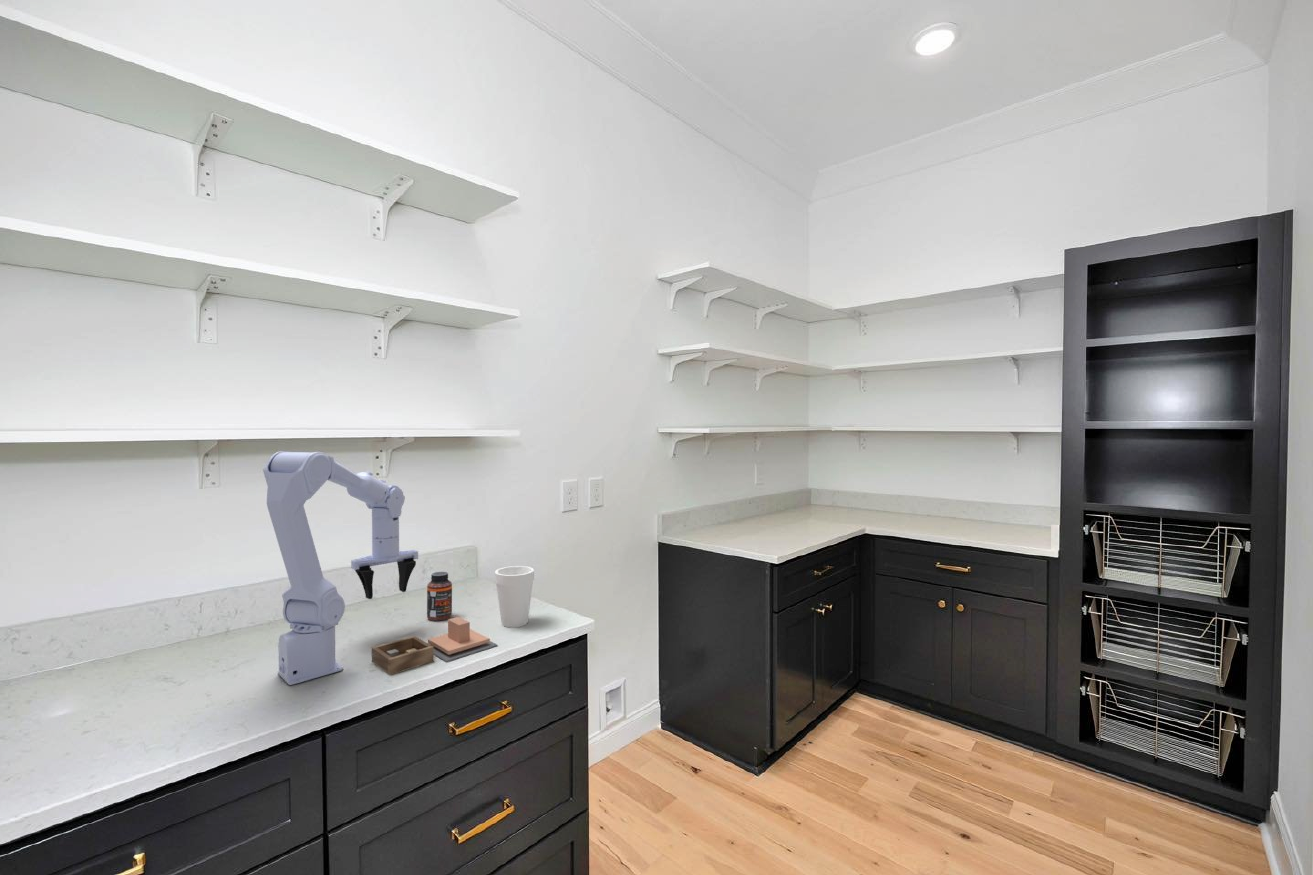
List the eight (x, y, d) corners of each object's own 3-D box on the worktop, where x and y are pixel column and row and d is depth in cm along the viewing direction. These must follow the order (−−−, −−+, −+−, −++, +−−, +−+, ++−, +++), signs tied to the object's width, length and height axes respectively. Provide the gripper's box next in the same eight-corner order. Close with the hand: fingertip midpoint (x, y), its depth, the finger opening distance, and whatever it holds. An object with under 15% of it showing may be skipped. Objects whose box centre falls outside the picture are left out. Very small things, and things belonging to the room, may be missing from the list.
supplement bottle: (435, 623, 142) (435, 577, 142) (422, 618, 146) (422, 573, 146) (456, 616, 147) (456, 572, 147) (443, 612, 151) (443, 569, 151)
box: (389, 674, 114) (389, 659, 113) (371, 661, 120) (371, 647, 120) (433, 661, 120) (433, 646, 120) (414, 649, 126) (414, 635, 126)
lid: (448, 657, 121) (448, 632, 121) (427, 645, 128) (427, 621, 128) (489, 644, 128) (489, 620, 128) (467, 633, 135) (467, 610, 135)
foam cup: (488, 622, 144) (488, 570, 143) (521, 613, 150) (521, 564, 149) (506, 632, 137) (506, 577, 136) (541, 623, 143) (540, 571, 142)
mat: (446, 662, 120) (446, 660, 120) (420, 646, 128) (420, 645, 128) (497, 645, 128) (497, 644, 128) (469, 632, 136) (469, 631, 136)
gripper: (359, 543, 126) (359, 605, 127) (423, 534, 137) (424, 591, 137) (347, 539, 131) (348, 598, 132) (410, 530, 142) (411, 585, 142)
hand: (386, 594), depth 135 cm, fingers open, 7 cm apart
